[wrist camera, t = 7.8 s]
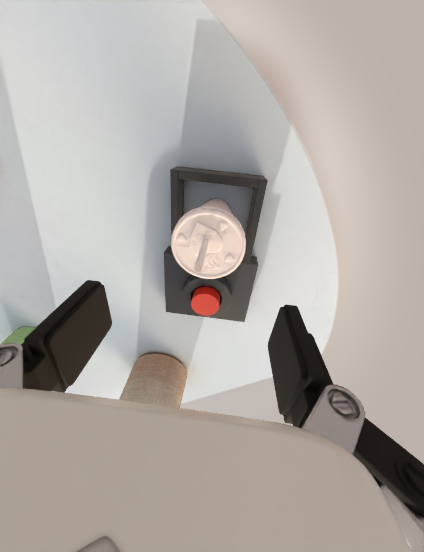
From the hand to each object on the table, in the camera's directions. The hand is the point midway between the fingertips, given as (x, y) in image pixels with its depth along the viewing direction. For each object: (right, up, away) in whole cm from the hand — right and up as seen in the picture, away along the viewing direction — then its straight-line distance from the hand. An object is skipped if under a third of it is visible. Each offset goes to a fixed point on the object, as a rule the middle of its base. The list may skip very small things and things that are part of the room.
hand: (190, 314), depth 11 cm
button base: (+1, +1, +20) cm, 20 cm away
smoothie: (+2, +10, +15) cm, 18 cm away
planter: (-9, -17, +33) cm, 38 cm away
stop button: (0, -1, +17) cm, 17 cm away
